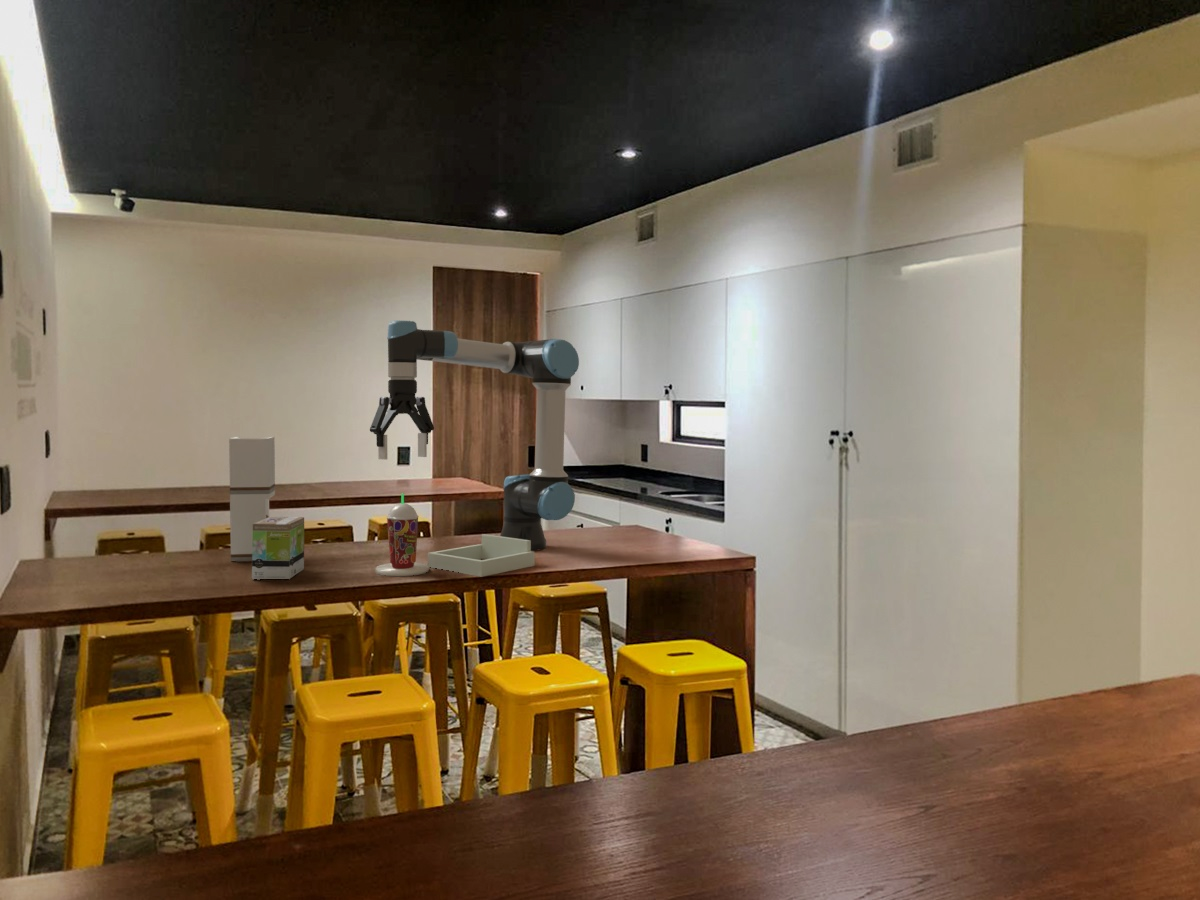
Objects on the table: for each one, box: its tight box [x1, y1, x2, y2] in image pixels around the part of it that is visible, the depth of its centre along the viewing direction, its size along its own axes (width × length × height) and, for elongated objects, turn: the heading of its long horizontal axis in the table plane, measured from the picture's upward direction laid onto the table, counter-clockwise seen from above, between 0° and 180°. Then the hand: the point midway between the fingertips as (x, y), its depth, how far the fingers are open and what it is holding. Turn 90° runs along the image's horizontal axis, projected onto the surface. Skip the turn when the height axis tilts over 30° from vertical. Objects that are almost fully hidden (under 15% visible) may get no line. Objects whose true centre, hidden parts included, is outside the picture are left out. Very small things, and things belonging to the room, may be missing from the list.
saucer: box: [375, 562, 430, 577], centre depth 251 cm, size 14×14×1 cm
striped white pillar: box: [228, 436, 276, 562], centre depth 269 cm, size 11×11×35 cm
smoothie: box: [386, 492, 419, 569], centre depth 250 cm, size 8×8×20 cm
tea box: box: [251, 516, 305, 581], centre depth 244 cm, size 15×10×15 cm
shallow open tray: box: [427, 533, 536, 578], centre depth 259 cm, size 21×21×7 cm
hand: (403, 458), depth 249 cm, fingers open, 13 cm apart
